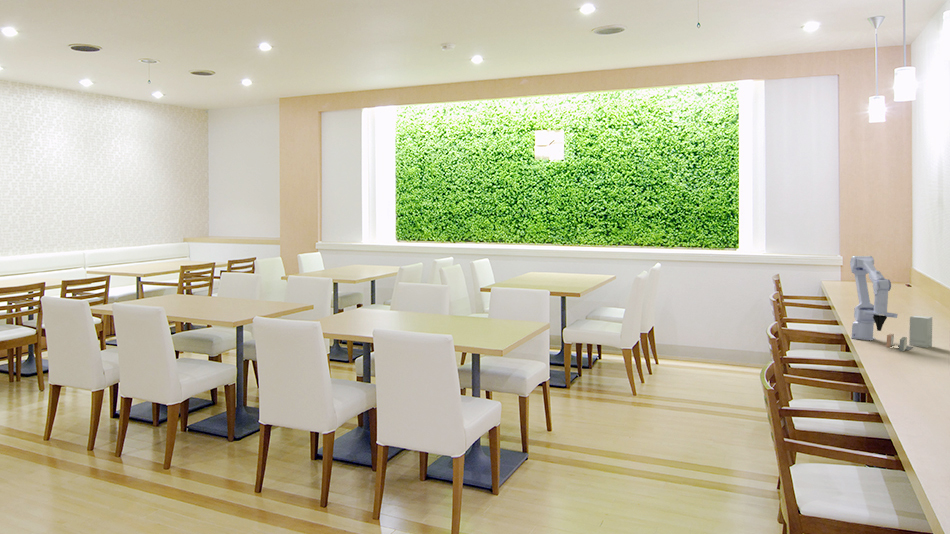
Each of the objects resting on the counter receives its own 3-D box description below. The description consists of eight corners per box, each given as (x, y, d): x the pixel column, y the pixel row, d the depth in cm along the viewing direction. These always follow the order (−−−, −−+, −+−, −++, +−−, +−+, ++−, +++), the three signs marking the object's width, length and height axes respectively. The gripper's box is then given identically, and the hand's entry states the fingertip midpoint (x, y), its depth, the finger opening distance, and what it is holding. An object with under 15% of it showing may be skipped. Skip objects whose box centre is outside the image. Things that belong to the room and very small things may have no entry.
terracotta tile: (886, 347, 330) (887, 335, 329) (889, 345, 334) (890, 333, 334) (890, 347, 329) (891, 335, 328) (893, 345, 333) (894, 334, 332)
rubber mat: (889, 348, 327) (889, 347, 327) (894, 345, 334) (894, 344, 334) (908, 350, 322) (908, 350, 322) (913, 347, 329) (913, 347, 329)
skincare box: (932, 346, 331) (934, 317, 329) (926, 348, 328) (928, 318, 326) (913, 343, 338) (915, 314, 336) (907, 345, 335) (909, 315, 333)
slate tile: (899, 351, 320) (900, 339, 319) (902, 348, 324) (903, 336, 323) (903, 352, 319) (904, 339, 318) (906, 349, 323) (907, 337, 322)
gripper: (862, 302, 335) (860, 329, 336) (895, 305, 325) (893, 333, 326) (866, 301, 340) (864, 327, 341) (899, 304, 330) (897, 331, 331)
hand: (879, 330), depth 334 cm, fingers closed
